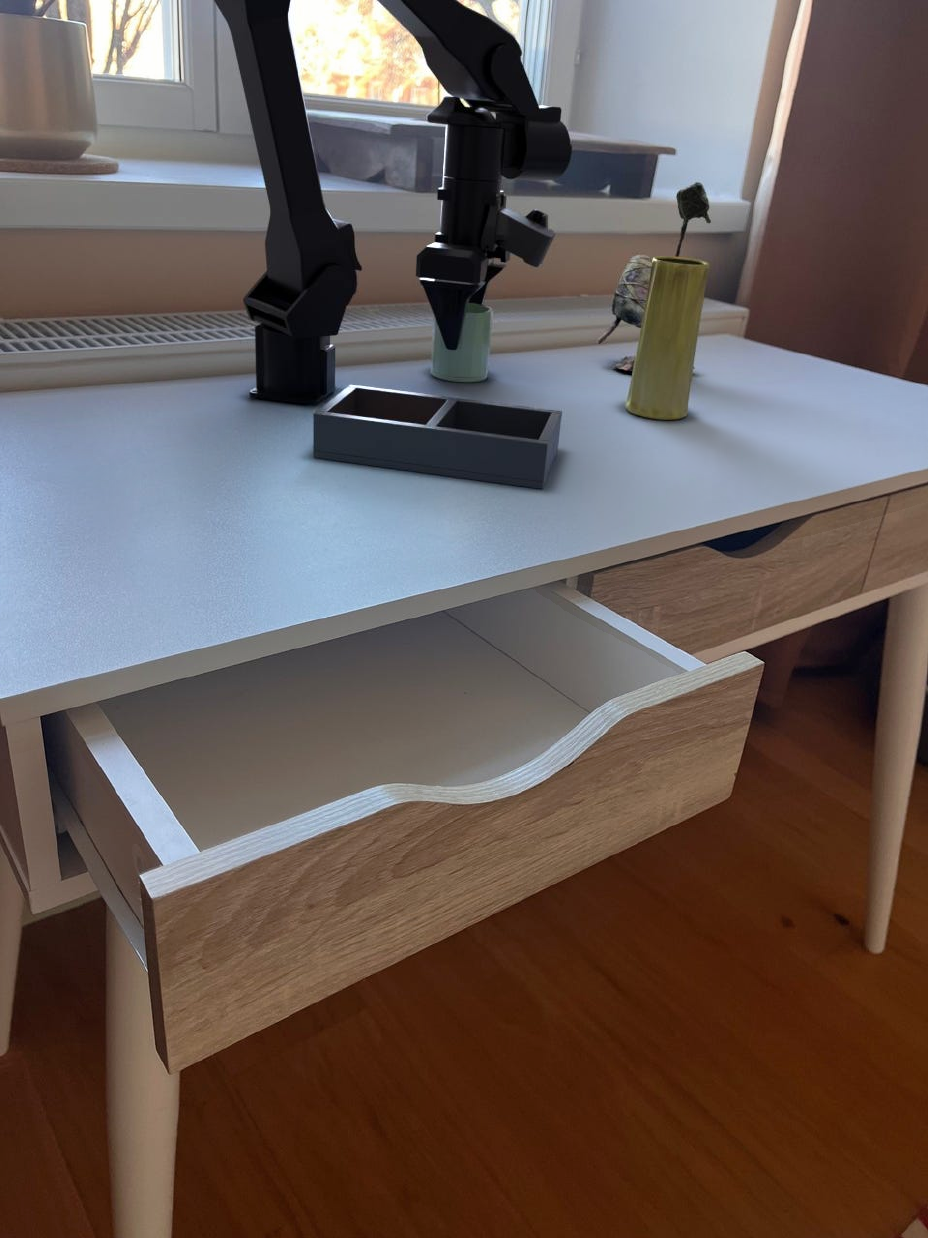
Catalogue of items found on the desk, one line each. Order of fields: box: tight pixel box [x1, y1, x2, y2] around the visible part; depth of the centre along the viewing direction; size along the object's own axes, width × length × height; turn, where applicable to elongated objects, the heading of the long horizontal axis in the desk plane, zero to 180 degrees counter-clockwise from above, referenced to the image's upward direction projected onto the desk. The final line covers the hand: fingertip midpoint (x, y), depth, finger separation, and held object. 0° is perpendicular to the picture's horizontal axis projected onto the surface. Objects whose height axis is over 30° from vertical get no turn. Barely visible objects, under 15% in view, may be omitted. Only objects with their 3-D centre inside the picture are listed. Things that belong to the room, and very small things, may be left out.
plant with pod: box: [596, 181, 712, 372], centre depth 110 cm, size 8×11×20 cm
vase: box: [624, 255, 710, 421], centre depth 95 cm, size 6×6×14 cm
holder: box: [312, 384, 563, 490], centre depth 81 cm, size 10×18×4 cm, turn 78°
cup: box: [430, 303, 494, 383], centre depth 105 cm, size 6×6×7 cm
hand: (460, 340), depth 104 cm, fingers open, 9 cm apart
